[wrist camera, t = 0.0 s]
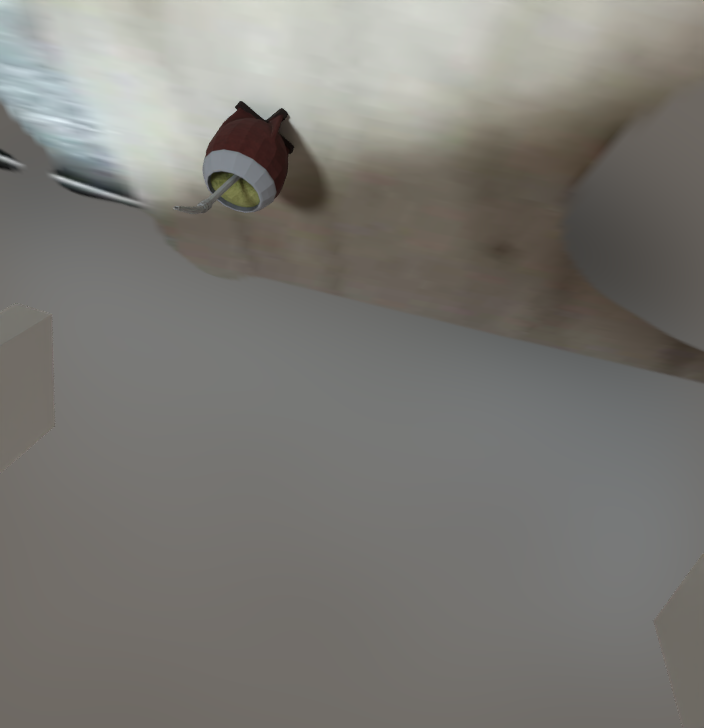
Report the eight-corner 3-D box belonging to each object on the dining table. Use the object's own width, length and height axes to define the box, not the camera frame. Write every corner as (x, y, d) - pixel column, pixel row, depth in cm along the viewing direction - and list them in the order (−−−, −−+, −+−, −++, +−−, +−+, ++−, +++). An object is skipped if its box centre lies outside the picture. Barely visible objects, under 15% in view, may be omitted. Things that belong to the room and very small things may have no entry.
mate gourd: (275, 166, 60) (216, 291, 54) (208, 110, 56) (136, 238, 50) (321, 133, 54) (261, 268, 48) (250, 68, 50) (174, 206, 44)
